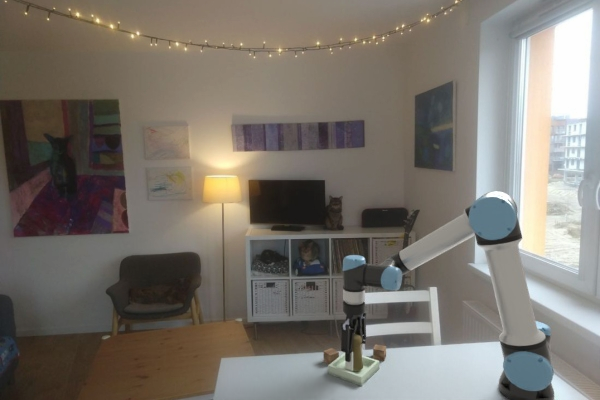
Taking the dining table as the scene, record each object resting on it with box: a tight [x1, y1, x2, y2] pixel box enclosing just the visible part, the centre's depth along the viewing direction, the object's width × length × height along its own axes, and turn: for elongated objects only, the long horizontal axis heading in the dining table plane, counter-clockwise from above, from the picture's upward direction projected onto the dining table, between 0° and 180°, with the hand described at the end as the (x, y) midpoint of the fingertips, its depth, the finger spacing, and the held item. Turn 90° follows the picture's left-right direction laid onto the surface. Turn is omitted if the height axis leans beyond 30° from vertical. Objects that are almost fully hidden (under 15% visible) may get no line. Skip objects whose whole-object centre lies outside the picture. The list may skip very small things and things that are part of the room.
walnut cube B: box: [323, 347, 340, 366], centre depth 147 cm, size 4×4×4 cm
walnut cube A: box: [372, 344, 387, 362], centre depth 150 cm, size 4×4×4 cm
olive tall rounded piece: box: [352, 333, 363, 371], centre depth 140 cm, size 6×6×11 cm
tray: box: [327, 352, 380, 387], centre depth 141 cm, size 13×13×3 cm
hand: (354, 365), depth 140 cm, fingers closed on olive tall rounded piece, 6 cm apart
